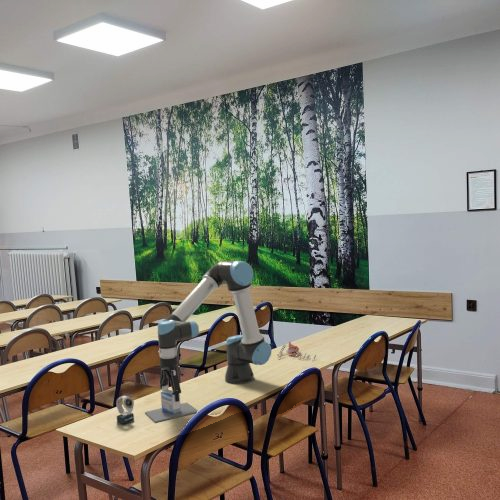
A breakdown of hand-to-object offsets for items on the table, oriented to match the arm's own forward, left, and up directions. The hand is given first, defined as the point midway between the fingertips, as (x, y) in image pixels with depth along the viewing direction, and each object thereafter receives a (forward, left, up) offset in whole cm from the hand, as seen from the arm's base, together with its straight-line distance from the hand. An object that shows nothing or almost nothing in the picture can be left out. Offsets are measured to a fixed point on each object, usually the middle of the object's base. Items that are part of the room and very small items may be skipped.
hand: (171, 404), depth 232 cm
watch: (+20, -2, -4) cm, 20 cm away
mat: (0, 0, -4) cm, 4 cm away
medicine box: (0, 0, -3) cm, 3 cm away
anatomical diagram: (-96, -43, -5) cm, 105 cm away
